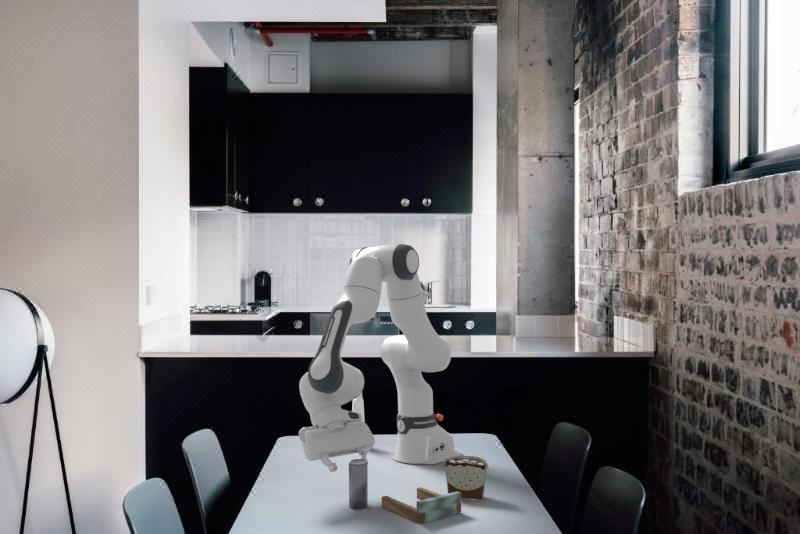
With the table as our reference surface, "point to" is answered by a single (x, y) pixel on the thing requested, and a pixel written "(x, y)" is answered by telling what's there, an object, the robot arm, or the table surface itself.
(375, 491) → the table surface
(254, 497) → the table surface
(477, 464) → the food container
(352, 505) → the drinking glass
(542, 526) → the table surface
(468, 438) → the table surface
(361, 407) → the cosmetic bottle
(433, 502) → the keeper cradle
